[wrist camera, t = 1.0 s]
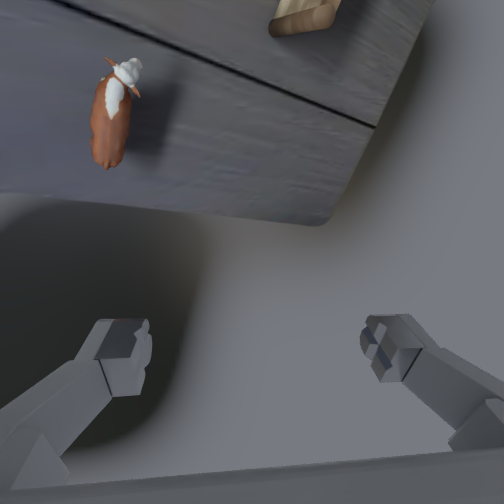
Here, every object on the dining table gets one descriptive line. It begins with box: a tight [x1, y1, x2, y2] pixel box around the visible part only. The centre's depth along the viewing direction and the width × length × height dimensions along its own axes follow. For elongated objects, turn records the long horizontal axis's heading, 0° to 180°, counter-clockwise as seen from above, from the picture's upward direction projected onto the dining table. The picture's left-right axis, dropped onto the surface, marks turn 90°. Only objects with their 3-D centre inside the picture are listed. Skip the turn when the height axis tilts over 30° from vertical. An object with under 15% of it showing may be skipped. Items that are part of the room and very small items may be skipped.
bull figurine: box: [90, 57, 143, 170], centre depth 32 cm, size 4×13×8 cm, turn 151°
